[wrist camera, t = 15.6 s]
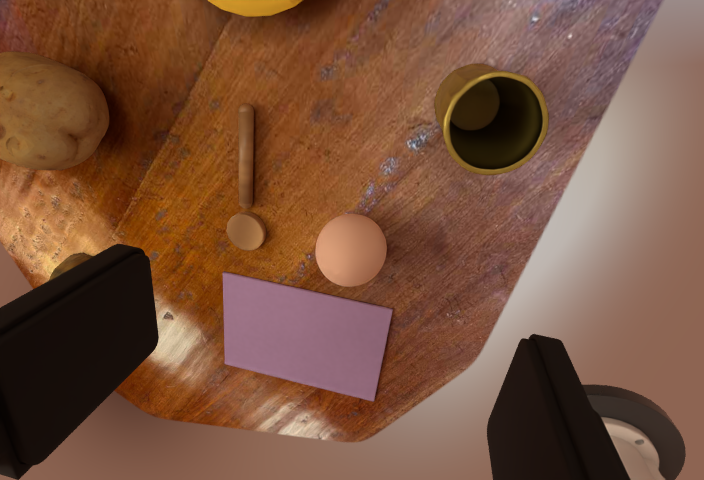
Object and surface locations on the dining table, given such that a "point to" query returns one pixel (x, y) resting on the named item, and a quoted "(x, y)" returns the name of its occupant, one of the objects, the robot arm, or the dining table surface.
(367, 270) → the egg
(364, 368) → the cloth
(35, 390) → the robot arm
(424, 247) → the dining table surface
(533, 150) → the vase
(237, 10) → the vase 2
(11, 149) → the potato
